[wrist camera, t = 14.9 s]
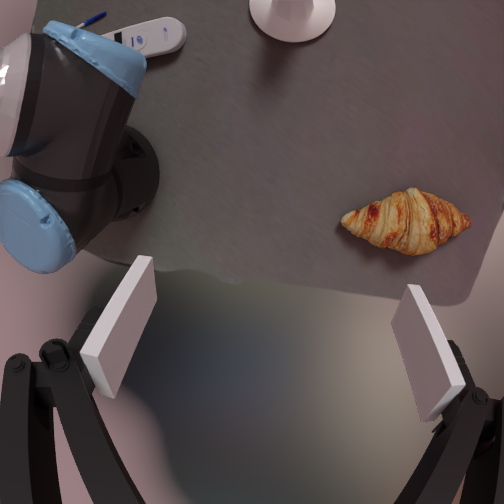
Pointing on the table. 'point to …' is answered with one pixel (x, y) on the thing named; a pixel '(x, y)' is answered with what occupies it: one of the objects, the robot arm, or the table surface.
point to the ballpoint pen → (92, 20)
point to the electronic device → (152, 36)
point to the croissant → (407, 222)
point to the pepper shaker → (293, 9)
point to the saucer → (293, 30)
